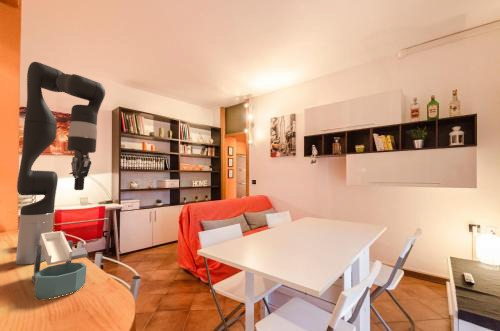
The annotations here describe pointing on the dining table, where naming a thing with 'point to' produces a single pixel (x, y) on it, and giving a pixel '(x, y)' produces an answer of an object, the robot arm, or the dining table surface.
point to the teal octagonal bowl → (59, 280)
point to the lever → (59, 248)
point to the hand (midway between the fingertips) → (78, 189)
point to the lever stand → (38, 259)
